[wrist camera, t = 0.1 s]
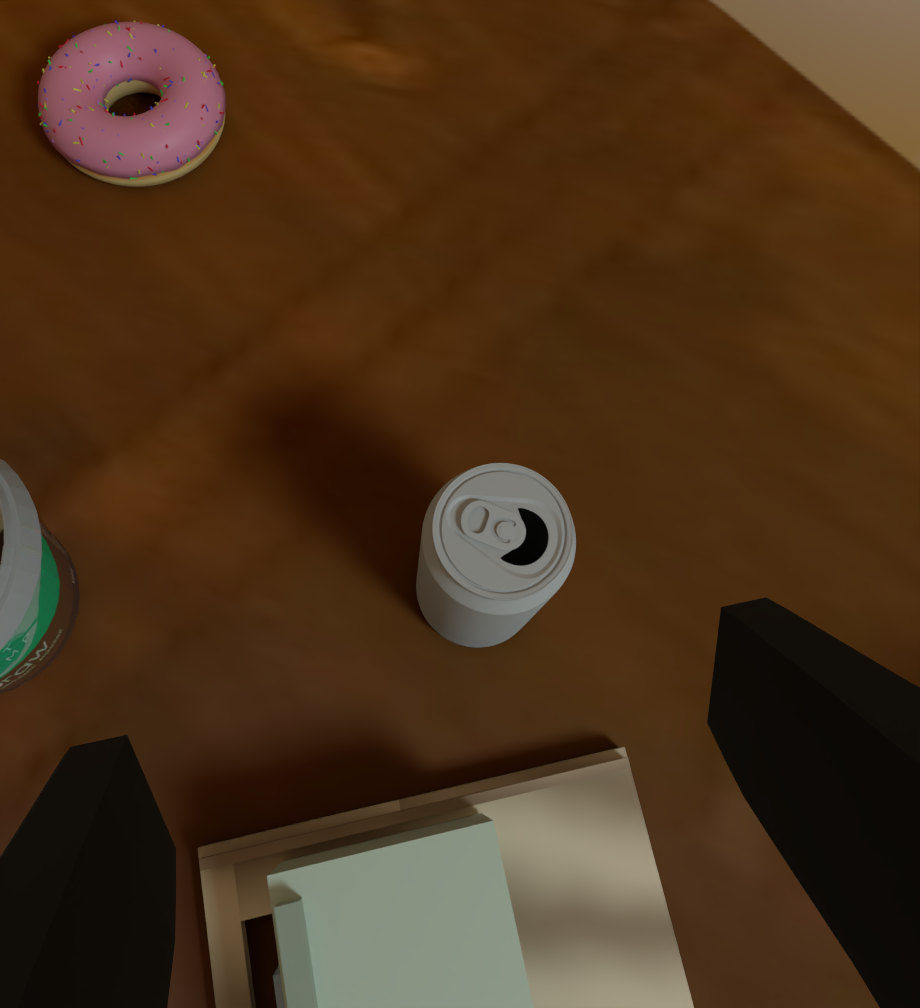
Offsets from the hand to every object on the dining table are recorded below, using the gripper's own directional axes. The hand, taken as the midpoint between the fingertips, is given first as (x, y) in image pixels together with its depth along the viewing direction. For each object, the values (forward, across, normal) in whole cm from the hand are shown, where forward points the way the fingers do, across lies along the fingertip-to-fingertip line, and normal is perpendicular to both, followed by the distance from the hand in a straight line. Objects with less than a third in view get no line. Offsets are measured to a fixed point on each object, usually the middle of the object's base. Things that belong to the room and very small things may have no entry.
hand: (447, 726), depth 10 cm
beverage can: (+27, -5, +19) cm, 33 cm away
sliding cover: (+13, +2, +29) cm, 32 cm away
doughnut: (+52, +9, -2) cm, 52 cm away
